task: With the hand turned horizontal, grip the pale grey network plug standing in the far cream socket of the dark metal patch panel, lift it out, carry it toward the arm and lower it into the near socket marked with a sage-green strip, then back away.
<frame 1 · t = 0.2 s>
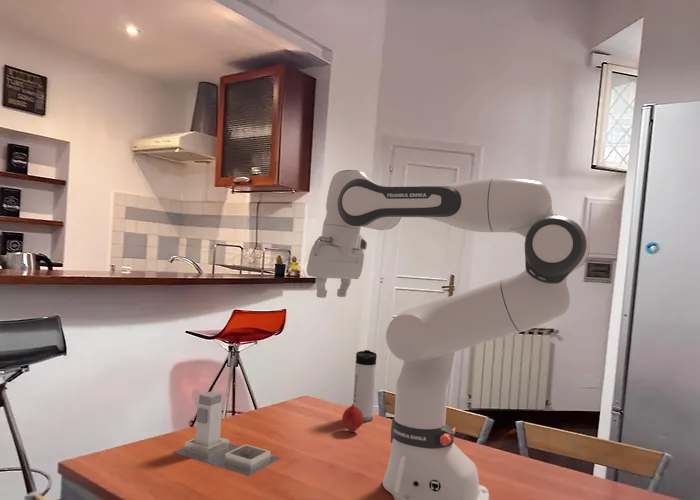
hand: (331, 297, 126), 39 cm above the table, tool pointing down, fingers open, 8 cm apart
panel: (226, 459, 124), on the table
onion: (351, 432, 148), on the table
plug: (207, 449, 127), point 1 cm above the table, touching panel
travel mug: (362, 418, 161), on the table
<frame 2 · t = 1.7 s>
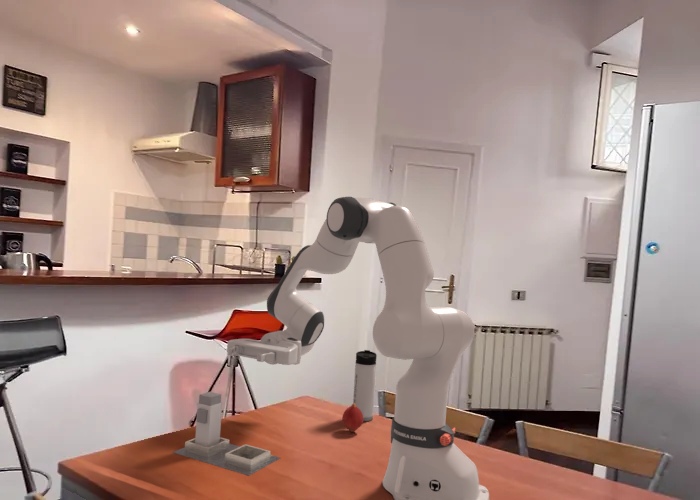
hand: (244, 355, 137), 22 cm above the table, tool horizontal, fingers open, 8 cm apart
nothing on the table moved.
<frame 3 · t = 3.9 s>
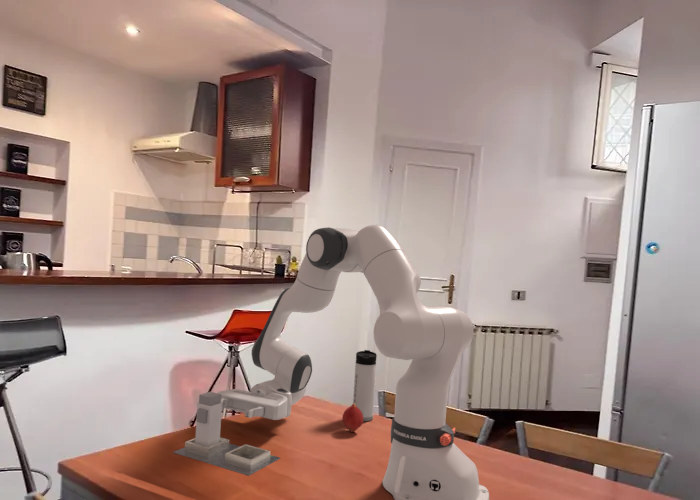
hand: (232, 410, 134), 8 cm above the table, tool horizontal, fingers open, 8 cm apart
nothing on the table moved.
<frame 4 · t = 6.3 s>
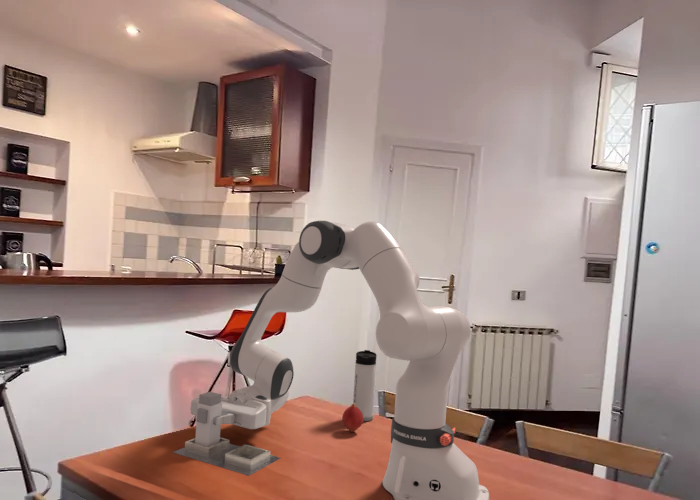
hand: (206, 419, 126), 8 cm above the table, tool horizontal, fingers closed on plug, 4 cm apart
plug: (207, 449, 127), point 1 cm above the table, touching gripper, panel
everything else where it was.
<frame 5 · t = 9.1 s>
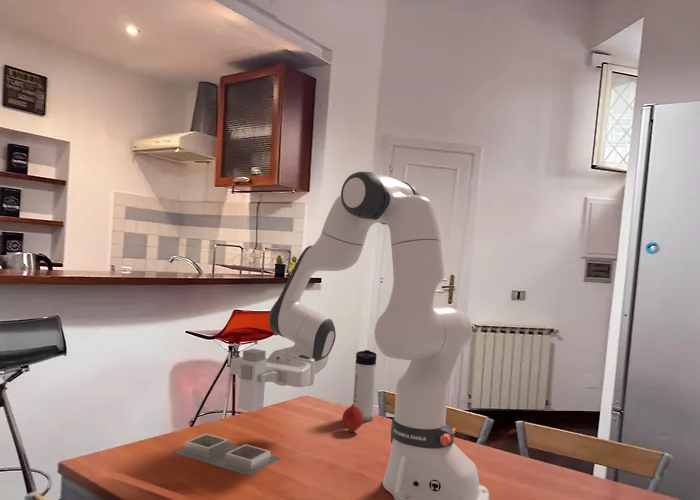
hand: (250, 376, 121), 20 cm above the table, tool horizontal, fingers closed on plug, 4 cm apart
plug: (250, 408, 121), point 13 cm above the table, touching gripper
everything else where it was.
when the fingers open (9 cm above the table, at t = 11.9 s): plug stays where it is, resting on panel.
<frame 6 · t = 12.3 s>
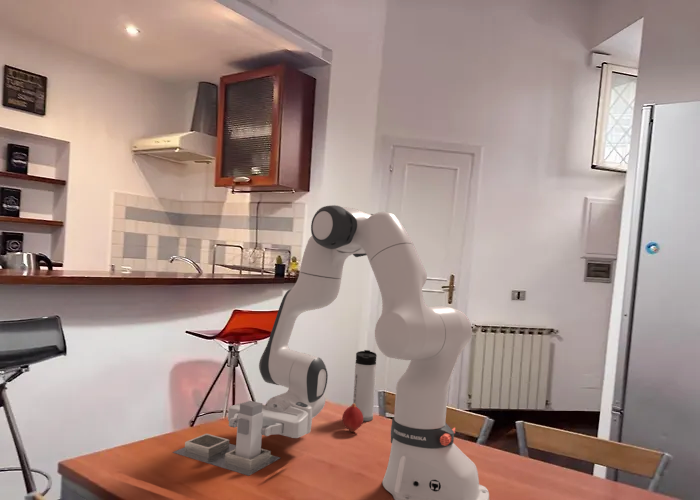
hand: (247, 427, 120), 9 cm above the table, tool horizontal, fingers open, 8 cm apart
plug: (247, 461, 121), point 1 cm above the table, touching panel
everything else where it was.
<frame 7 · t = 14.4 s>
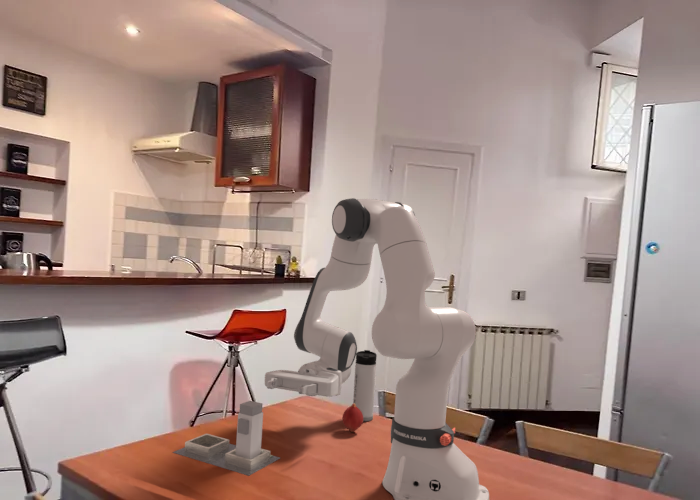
hand: (284, 388, 132), 15 cm above the table, tool horizontal, fingers open, 8 cm apart
nothing on the table moved.
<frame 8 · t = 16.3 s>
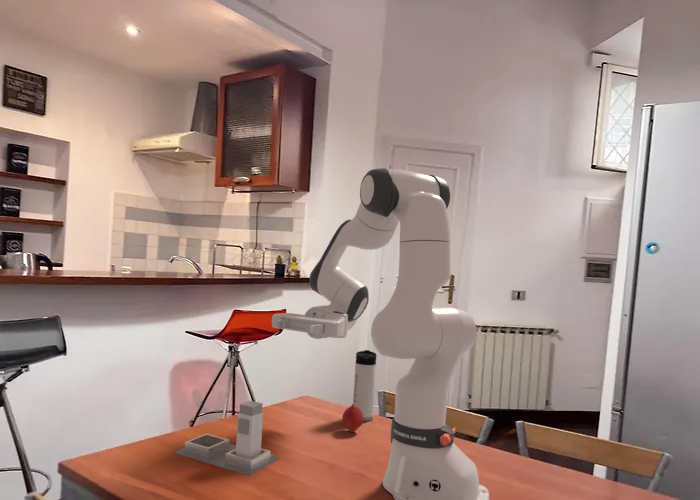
hand: (292, 327, 135), 30 cm above the table, tool horizontal, fingers open, 8 cm apart
nothing on the table moved.
at the end: plug 0.0 cm from the target spot on the panel, point 1.0 cm above the panel's base; plug tilted 0°; the gripper is holding nothing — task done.
